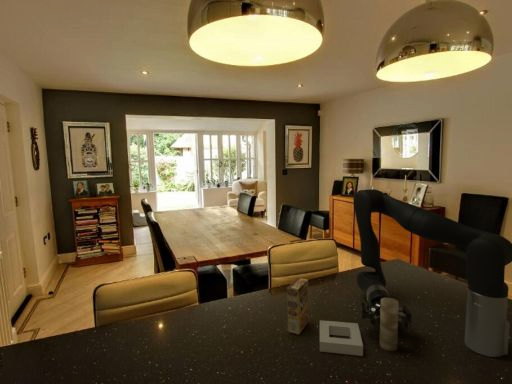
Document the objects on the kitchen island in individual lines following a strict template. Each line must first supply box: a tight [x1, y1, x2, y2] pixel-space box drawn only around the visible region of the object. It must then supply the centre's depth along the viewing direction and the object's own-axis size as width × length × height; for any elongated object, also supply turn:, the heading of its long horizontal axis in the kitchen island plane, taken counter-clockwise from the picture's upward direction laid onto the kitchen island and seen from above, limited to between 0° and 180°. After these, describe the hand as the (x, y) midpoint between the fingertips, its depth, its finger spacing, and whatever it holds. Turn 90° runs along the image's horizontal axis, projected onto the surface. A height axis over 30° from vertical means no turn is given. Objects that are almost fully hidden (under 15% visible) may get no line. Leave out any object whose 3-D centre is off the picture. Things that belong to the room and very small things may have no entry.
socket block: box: [319, 319, 364, 357], centre depth 93 cm, size 12×12×3 cm
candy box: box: [286, 277, 309, 335], centre depth 101 cm, size 9×4×15 cm, turn 150°
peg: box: [379, 297, 400, 352], centre depth 90 cm, size 5×5×14 cm
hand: (390, 324), depth 88 cm, fingers open, 8 cm apart
